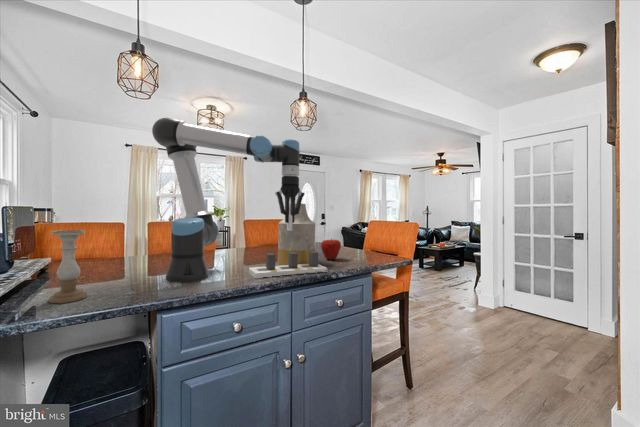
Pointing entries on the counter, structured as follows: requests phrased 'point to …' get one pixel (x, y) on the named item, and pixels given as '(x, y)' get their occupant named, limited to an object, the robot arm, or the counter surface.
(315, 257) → the knob
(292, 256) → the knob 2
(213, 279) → the counter surface
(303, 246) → the vase
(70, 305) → the counter surface
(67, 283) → the candle holder
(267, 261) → the block
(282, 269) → the switch board
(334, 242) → the apple
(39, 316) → the counter surface
